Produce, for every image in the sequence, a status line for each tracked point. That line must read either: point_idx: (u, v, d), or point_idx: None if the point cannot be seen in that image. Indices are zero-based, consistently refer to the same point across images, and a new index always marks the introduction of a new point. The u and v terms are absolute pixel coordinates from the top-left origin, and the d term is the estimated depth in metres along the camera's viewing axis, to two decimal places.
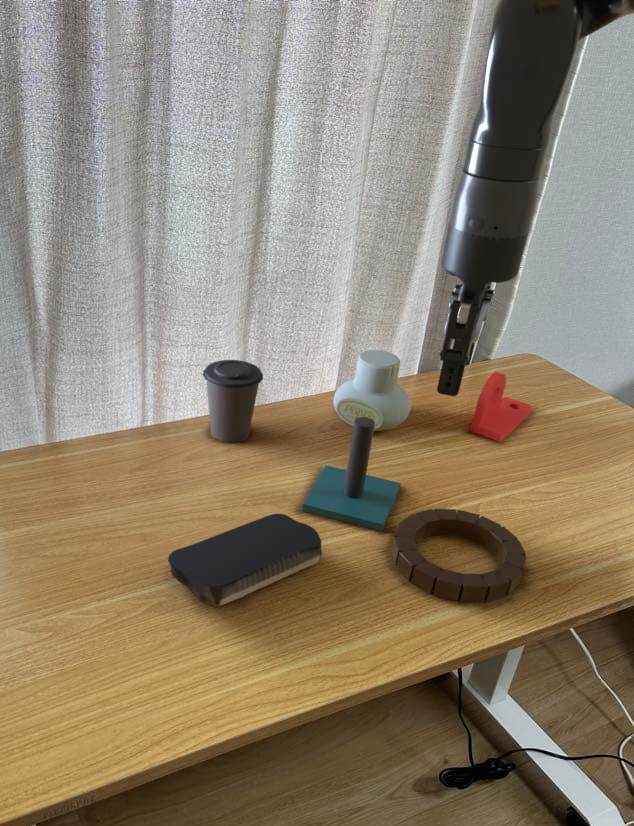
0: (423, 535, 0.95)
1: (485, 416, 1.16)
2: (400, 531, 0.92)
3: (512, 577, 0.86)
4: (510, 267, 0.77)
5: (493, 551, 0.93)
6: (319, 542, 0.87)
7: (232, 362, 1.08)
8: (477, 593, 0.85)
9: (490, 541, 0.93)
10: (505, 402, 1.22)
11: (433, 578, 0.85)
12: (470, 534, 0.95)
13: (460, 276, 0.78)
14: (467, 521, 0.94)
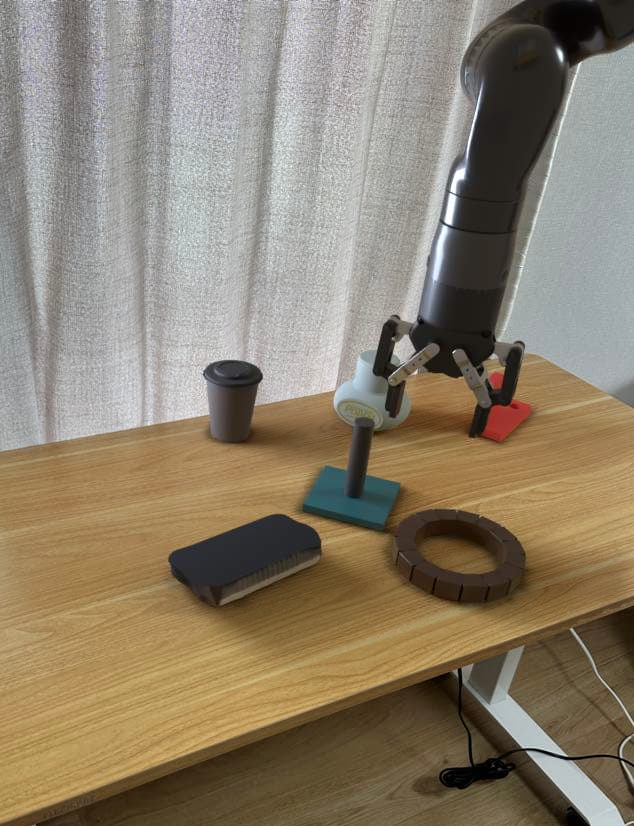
0: (423, 535, 0.95)
1: None
2: (400, 531, 0.92)
3: (512, 577, 0.86)
4: None
5: (493, 551, 0.93)
6: (319, 542, 0.87)
7: (232, 362, 1.08)
8: (477, 593, 0.85)
9: (490, 541, 0.93)
10: None
11: (433, 578, 0.85)
12: (470, 534, 0.95)
13: (490, 328, 0.76)
14: (467, 521, 0.94)
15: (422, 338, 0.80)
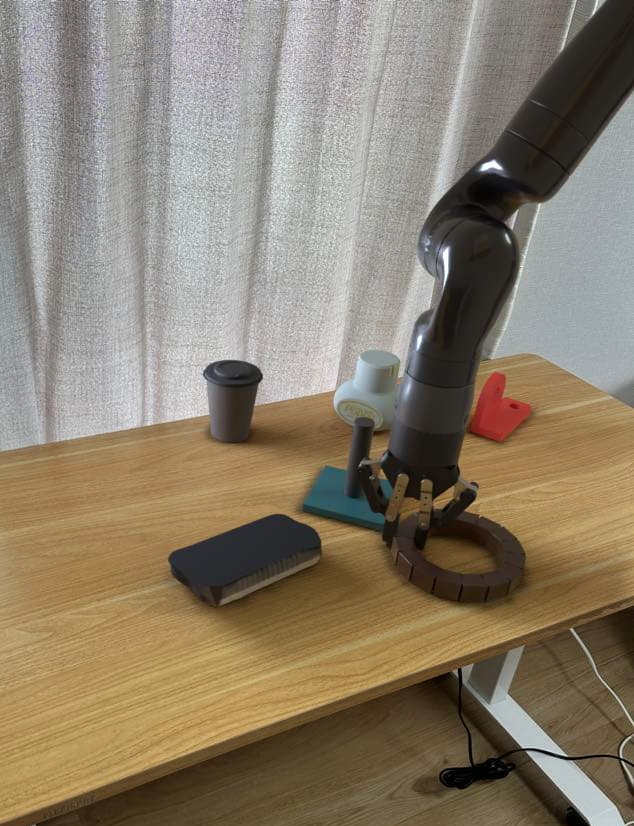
0: None
1: (486, 416, 1.16)
2: (400, 531, 0.92)
3: (512, 577, 0.86)
4: None
5: (493, 551, 0.93)
6: (319, 542, 0.87)
7: (232, 362, 1.08)
8: (477, 593, 0.85)
9: (490, 541, 0.93)
10: (505, 402, 1.22)
11: (433, 578, 0.85)
12: (470, 534, 0.95)
13: (455, 462, 0.84)
14: (467, 521, 0.94)
15: (392, 467, 0.87)
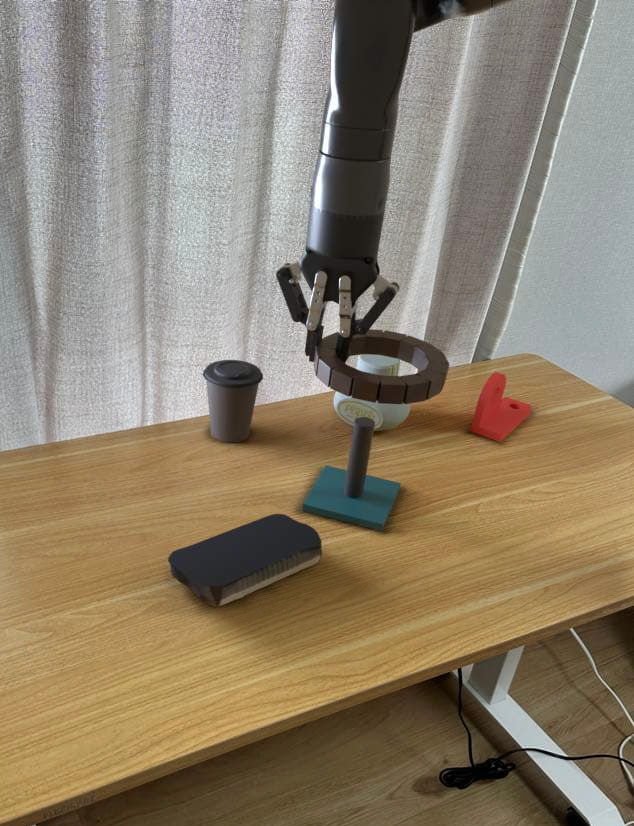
0: None
1: (486, 416, 1.16)
2: (322, 343, 0.90)
3: (432, 379, 0.84)
4: None
5: (418, 367, 0.91)
6: (319, 542, 0.87)
7: (232, 362, 1.08)
8: (395, 393, 0.83)
9: (415, 357, 0.91)
10: (505, 402, 1.22)
11: (351, 378, 0.83)
12: (396, 353, 0.93)
13: (372, 255, 0.81)
14: (392, 338, 0.92)
15: (311, 267, 0.85)
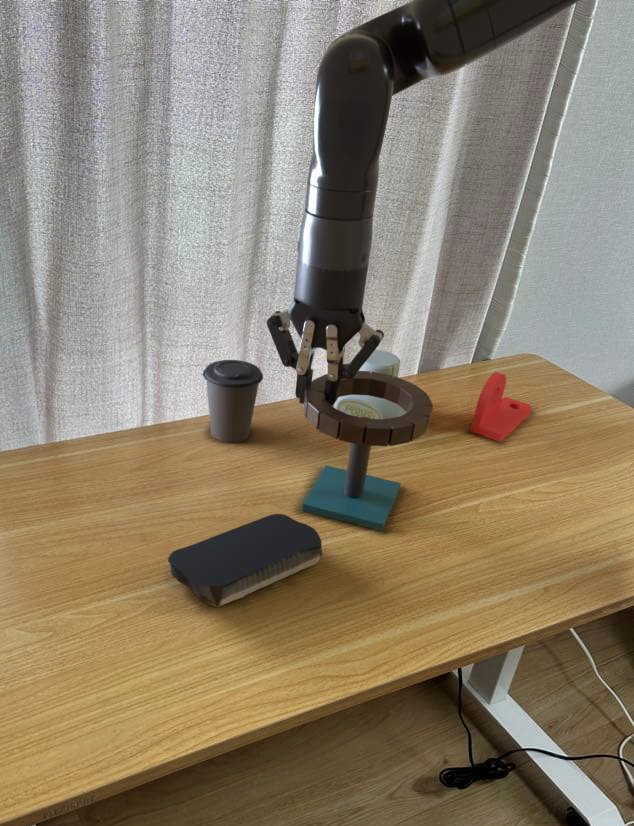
0: None
1: (486, 416, 1.16)
2: (312, 386, 0.94)
3: (415, 421, 0.88)
4: None
5: (404, 407, 0.95)
6: (319, 542, 0.87)
7: (232, 362, 1.08)
8: (380, 436, 0.87)
9: (401, 398, 0.95)
10: (505, 402, 1.22)
11: (338, 422, 0.87)
12: (383, 394, 0.97)
13: (357, 305, 0.86)
14: (379, 380, 0.96)
15: (300, 316, 0.89)
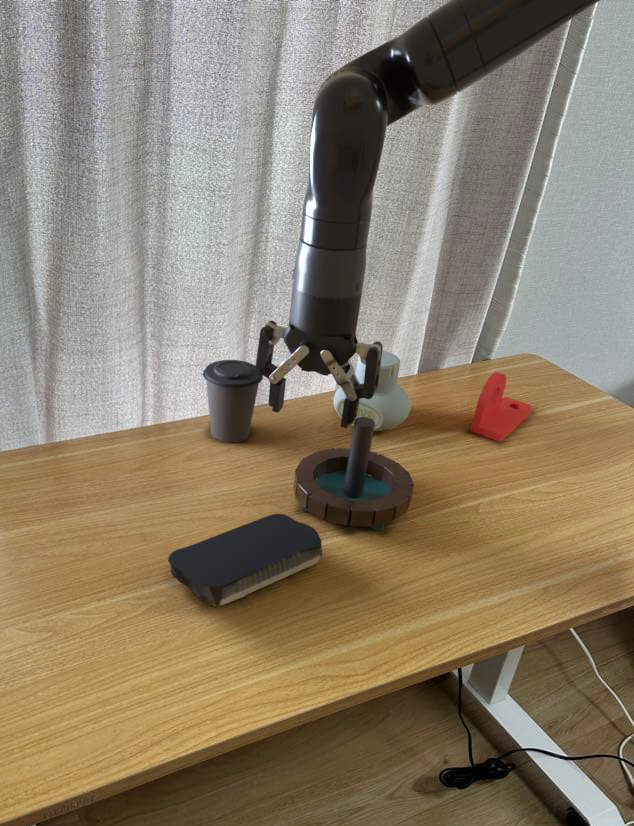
0: (325, 471, 1.03)
1: (486, 416, 1.16)
2: (301, 466, 1.00)
3: (397, 503, 0.95)
4: None
5: (387, 485, 1.01)
6: (319, 542, 0.87)
7: (232, 362, 1.08)
8: (364, 517, 0.94)
9: (385, 476, 1.02)
10: (505, 402, 1.22)
11: (325, 504, 0.94)
12: (368, 470, 1.03)
13: (350, 331, 0.87)
14: None
15: (295, 341, 0.91)
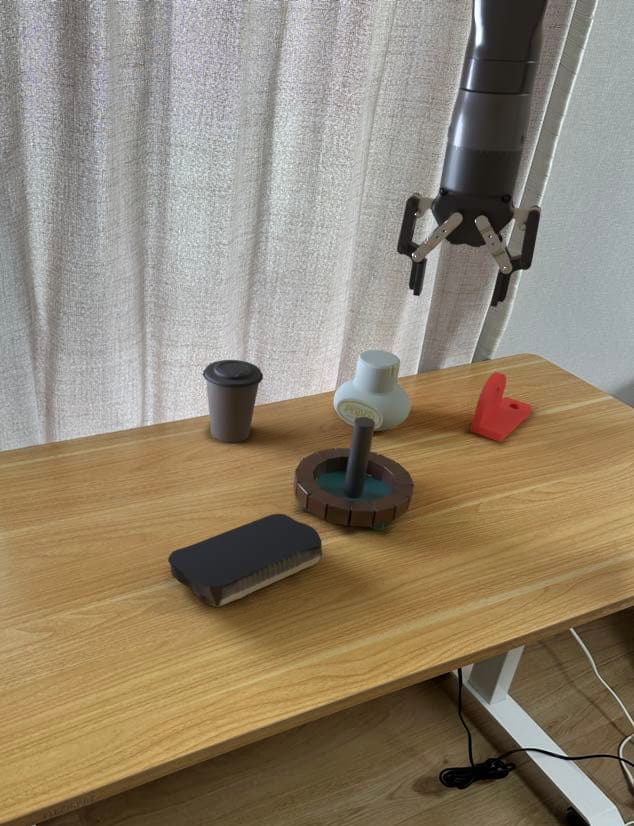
0: (325, 471, 1.03)
1: (486, 416, 1.16)
2: (301, 466, 1.00)
3: (397, 503, 0.95)
4: None
5: (387, 485, 1.01)
6: (319, 542, 0.87)
7: (232, 362, 1.08)
8: (364, 517, 0.94)
9: (385, 476, 1.02)
10: (505, 402, 1.22)
11: (325, 504, 0.94)
12: (368, 470, 1.03)
13: (510, 192, 0.82)
14: None
15: (445, 210, 0.85)
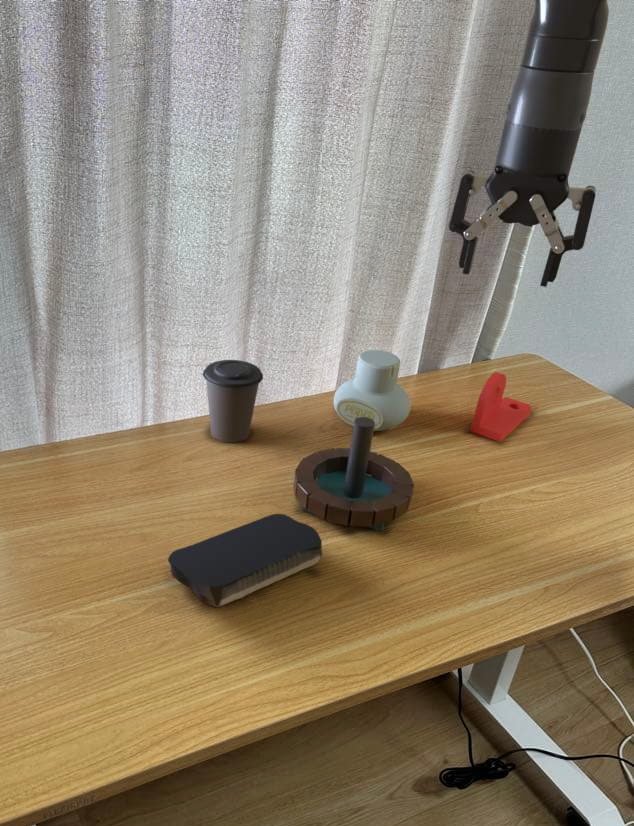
0: (325, 471, 1.03)
1: (486, 416, 1.16)
2: (301, 466, 1.00)
3: (397, 503, 0.95)
4: None
5: (387, 485, 1.01)
6: (319, 542, 0.87)
7: (232, 362, 1.08)
8: (364, 517, 0.94)
9: (385, 476, 1.02)
10: (505, 402, 1.22)
11: (325, 504, 0.94)
12: (368, 470, 1.03)
13: (567, 172, 0.82)
14: None
15: (499, 188, 0.85)
